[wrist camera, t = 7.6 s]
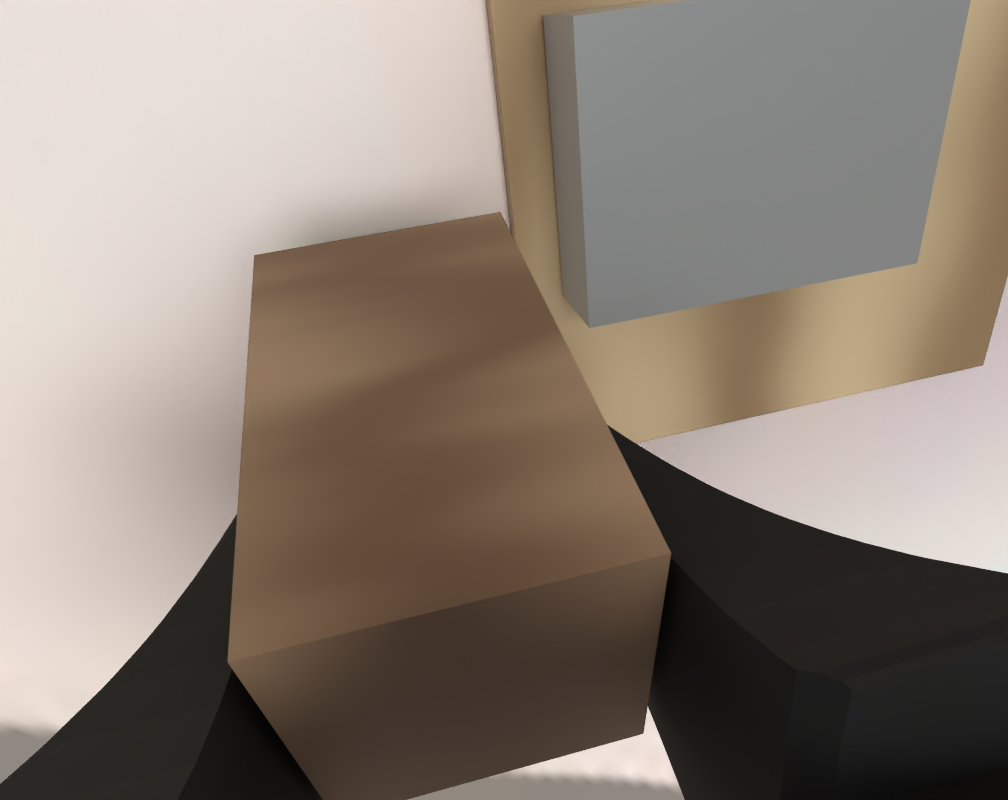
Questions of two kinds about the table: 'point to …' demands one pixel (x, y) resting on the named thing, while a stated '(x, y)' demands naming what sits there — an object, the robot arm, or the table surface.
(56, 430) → the table surface
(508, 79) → the mat
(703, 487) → the robot arm
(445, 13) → the table surface
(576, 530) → the block
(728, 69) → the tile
